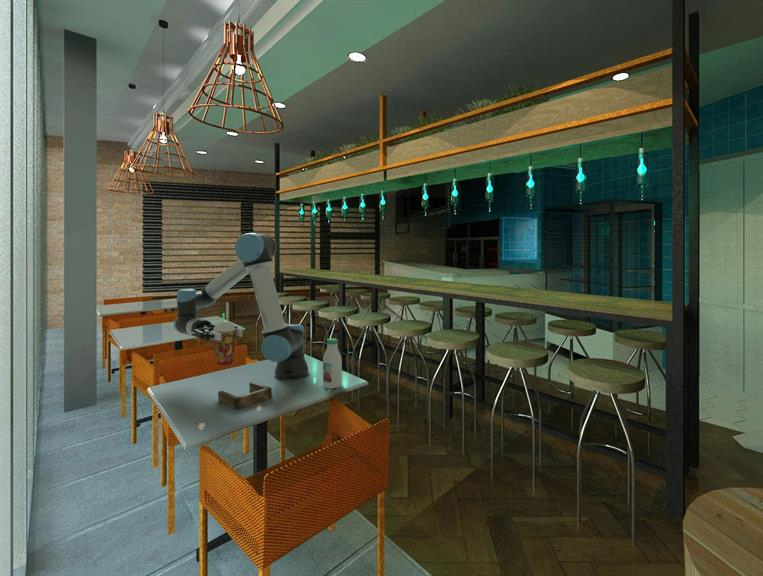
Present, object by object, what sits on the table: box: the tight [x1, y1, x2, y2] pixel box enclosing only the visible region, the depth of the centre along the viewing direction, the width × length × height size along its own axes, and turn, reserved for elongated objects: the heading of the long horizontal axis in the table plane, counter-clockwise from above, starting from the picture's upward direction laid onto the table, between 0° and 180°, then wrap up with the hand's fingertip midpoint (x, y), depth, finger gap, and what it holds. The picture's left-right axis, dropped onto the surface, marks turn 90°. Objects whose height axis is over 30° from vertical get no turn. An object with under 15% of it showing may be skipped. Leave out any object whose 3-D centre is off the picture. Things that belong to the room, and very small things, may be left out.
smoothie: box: [213, 313, 236, 366], centre depth 161 cm, size 8×8×20 cm
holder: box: [217, 381, 273, 411], centre depth 155 cm, size 15×12×4 cm
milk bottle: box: [322, 337, 343, 390], centre depth 171 cm, size 8×8×20 cm
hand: (231, 335), depth 158 cm, fingers closed on smoothie, 8 cm apart
